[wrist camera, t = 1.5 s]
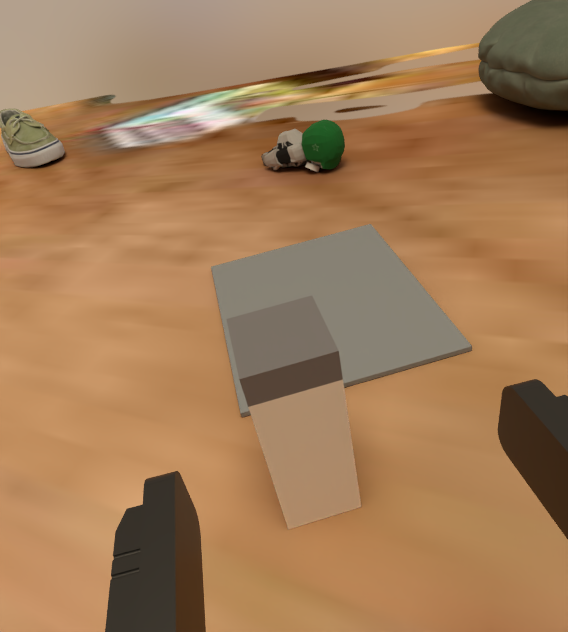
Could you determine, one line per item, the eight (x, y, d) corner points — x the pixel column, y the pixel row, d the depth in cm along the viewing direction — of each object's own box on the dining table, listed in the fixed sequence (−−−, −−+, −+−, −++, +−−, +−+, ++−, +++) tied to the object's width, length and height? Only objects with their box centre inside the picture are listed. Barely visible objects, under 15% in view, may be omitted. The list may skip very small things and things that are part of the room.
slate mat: (370, 227, 61) (370, 224, 61) (471, 350, 42) (472, 346, 42) (212, 270, 60) (211, 266, 59) (241, 417, 41) (240, 413, 40)
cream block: (338, 447, 37) (311, 295, 28) (361, 506, 33) (338, 350, 24) (273, 467, 36) (226, 319, 28) (288, 529, 32) (239, 379, 24)
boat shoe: (31, 176, 102) (9, 132, 97) (-8, 154, 121) (-28, 117, 115) (77, 157, 107) (59, 114, 101) (33, 139, 125) (15, 102, 120)
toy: (262, 189, 83) (331, 177, 72) (244, 148, 80) (314, 129, 69) (293, 168, 88) (362, 154, 77) (278, 128, 85) (348, 107, 74)
